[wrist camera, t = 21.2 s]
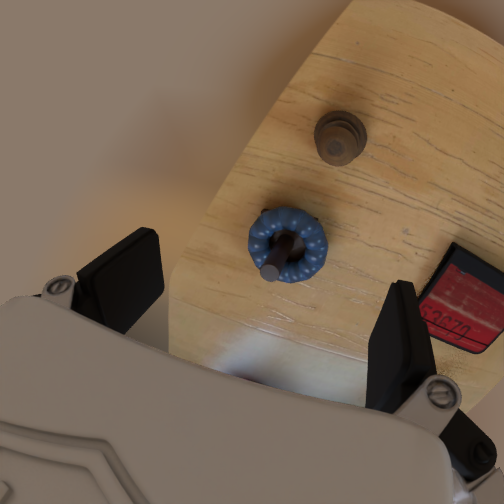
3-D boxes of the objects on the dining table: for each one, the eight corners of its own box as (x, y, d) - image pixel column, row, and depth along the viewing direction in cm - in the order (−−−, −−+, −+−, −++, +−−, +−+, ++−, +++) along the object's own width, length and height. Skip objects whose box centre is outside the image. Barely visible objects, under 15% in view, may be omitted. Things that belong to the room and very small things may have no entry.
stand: (263, 208, 41) (238, 236, 33) (318, 218, 39) (308, 249, 31) (259, 256, 45) (236, 292, 37) (310, 267, 43) (297, 307, 35)
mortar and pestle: (329, 167, 36) (313, 206, 21) (306, 123, 34) (273, 126, 19) (374, 148, 33) (396, 173, 17) (351, 103, 31) (357, 87, 16)
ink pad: (457, 247, 32) (533, 296, 29) (452, 239, 34) (528, 288, 31) (401, 326, 41) (480, 358, 38) (400, 317, 43) (477, 350, 40)
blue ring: (255, 198, 40) (248, 204, 37) (335, 213, 37) (333, 221, 35) (249, 266, 45) (243, 276, 43) (319, 282, 43) (317, 293, 40)
